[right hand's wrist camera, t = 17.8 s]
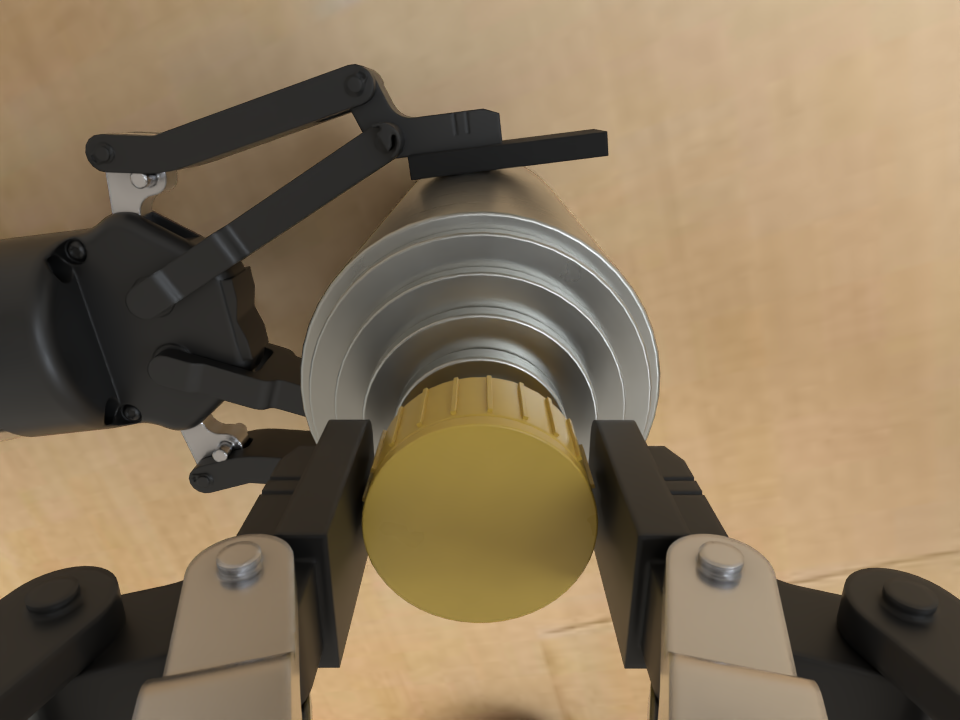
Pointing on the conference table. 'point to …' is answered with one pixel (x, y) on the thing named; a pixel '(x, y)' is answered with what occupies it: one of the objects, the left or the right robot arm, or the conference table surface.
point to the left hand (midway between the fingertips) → (606, 270)
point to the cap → (479, 502)
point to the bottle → (480, 310)
